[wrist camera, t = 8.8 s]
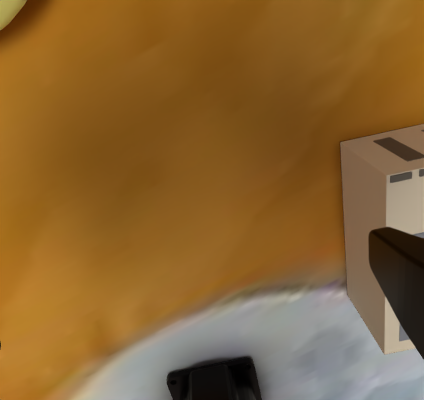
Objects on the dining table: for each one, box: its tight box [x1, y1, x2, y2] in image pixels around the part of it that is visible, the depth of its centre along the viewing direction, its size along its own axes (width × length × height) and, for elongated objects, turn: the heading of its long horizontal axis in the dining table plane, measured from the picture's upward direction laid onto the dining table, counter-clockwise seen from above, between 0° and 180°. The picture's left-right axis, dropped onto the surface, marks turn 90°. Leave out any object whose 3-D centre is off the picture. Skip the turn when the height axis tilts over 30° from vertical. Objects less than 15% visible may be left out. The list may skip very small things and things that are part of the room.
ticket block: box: [340, 124, 424, 355], centre depth 20 cm, size 11×5×5 cm, turn 12°
